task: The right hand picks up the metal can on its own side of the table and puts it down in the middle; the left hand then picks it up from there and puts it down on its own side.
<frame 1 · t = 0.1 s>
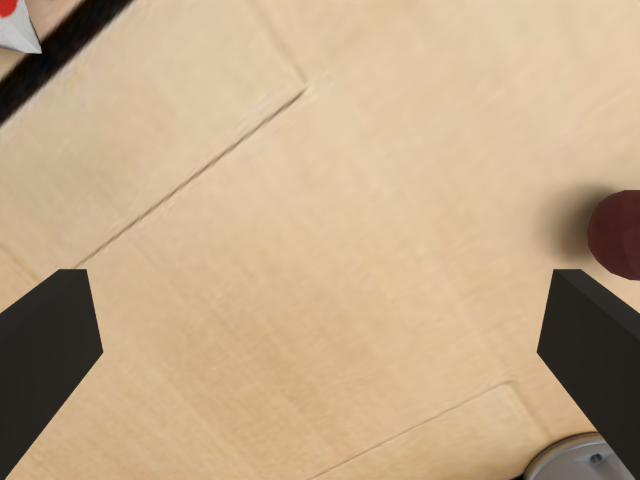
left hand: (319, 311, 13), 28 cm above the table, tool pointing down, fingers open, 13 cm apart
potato: (610, 220, 41), on the table
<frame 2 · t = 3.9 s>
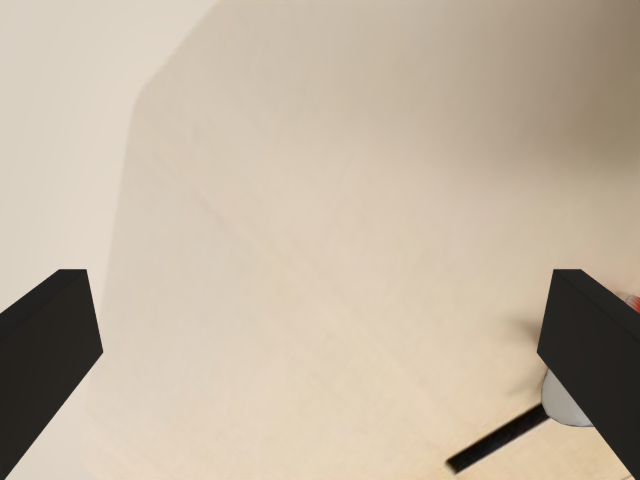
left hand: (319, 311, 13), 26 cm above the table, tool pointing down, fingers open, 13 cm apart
fish: (594, 345, 44), on the table
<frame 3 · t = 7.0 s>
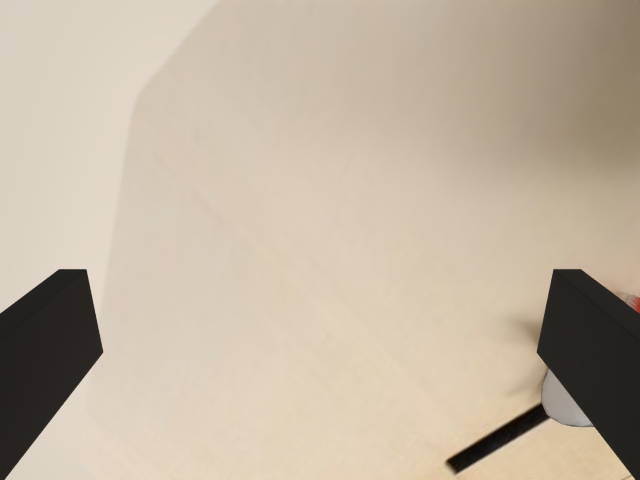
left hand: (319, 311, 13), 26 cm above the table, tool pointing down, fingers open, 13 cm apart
fish: (594, 345, 44), on the table
when the right hand's fingers open (4 cm above the table, at t = 10.6 s): can drops 2 cm, on the table.
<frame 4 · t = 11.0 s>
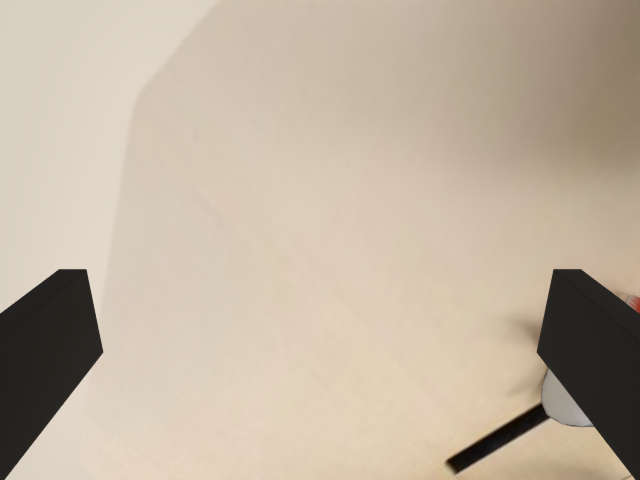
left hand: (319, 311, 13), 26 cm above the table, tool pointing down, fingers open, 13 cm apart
fish: (594, 345, 44), on the table
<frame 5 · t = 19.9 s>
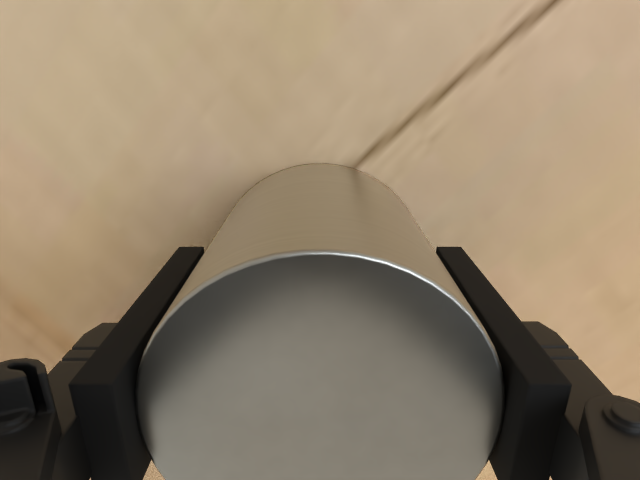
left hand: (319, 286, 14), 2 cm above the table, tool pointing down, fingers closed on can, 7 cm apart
can: (320, 263, 16), on the table, touching left hand
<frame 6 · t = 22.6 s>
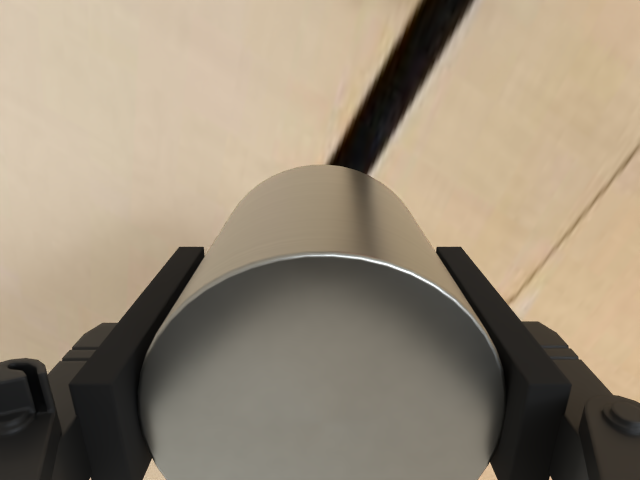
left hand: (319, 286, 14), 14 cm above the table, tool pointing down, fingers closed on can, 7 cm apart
can: (321, 264, 16), point 12 cm above the table, touching left hand
when the left hand's fingers open (4 cm above the table, at t = 25.7 s): can drops 2 cm, on the table.
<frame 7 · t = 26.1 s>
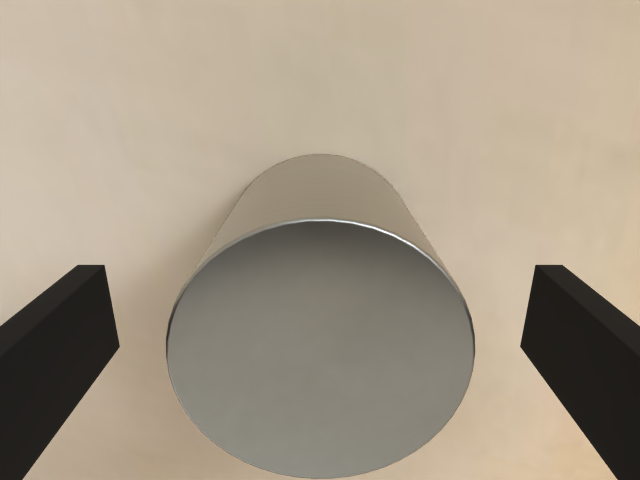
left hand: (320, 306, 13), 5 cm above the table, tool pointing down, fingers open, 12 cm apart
can: (320, 245, 18), on the table
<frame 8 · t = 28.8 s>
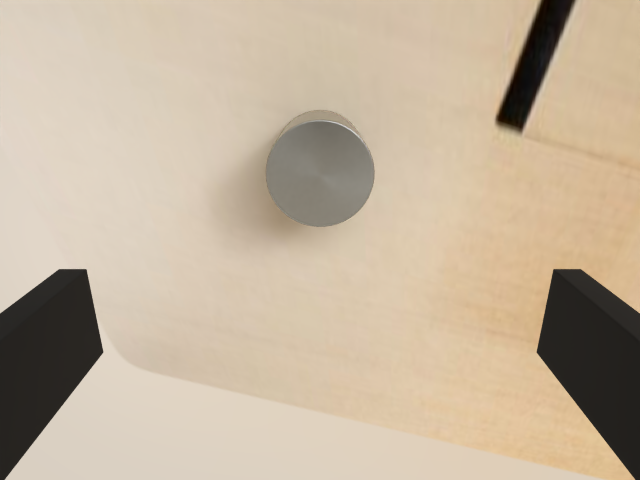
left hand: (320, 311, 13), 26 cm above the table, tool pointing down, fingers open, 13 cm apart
can: (320, 155, 37), on the table
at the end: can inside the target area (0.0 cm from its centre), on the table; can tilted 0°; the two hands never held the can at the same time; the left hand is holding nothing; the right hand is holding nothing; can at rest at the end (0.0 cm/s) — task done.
